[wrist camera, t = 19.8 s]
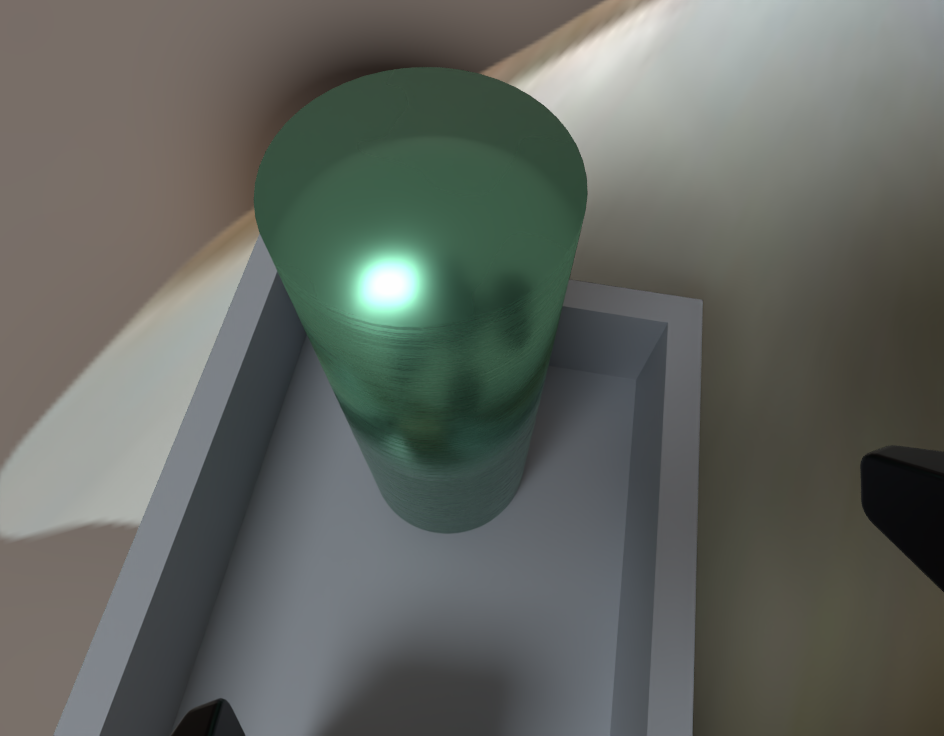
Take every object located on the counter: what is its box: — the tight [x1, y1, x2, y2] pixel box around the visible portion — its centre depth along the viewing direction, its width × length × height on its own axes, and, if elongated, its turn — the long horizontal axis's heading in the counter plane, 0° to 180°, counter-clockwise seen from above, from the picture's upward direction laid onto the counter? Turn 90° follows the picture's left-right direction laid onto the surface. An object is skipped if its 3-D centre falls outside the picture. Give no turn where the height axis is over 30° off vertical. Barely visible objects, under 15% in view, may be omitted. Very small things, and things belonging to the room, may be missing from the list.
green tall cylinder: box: [254, 67, 587, 534], centre depth 15 cm, size 5×5×13 cm
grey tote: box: [53, 234, 703, 736], centre depth 17 cm, size 22×14×5 cm, turn 170°
